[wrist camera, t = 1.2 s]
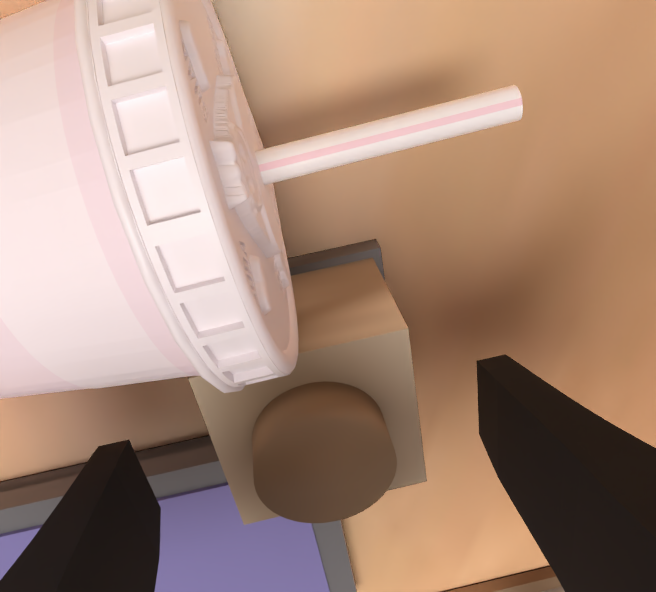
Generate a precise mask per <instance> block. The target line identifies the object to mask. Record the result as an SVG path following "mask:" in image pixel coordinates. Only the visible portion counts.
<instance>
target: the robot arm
mask: <svg viewBox="0 0 656 592" xmlns="http://www.w3.org/2000/svg"><path fill="white" fill-rule="evenodd" d="M477 382H478V412H479V434H480V437H481V439H482V442H483V444H484V446H485V449H486V451H487V453H488V456H489V458H490V460H491V462H492V465H493V467H494V469H495V471H496V473H497V476H498V478H499V480H500V481H501V483H502V485H503V487H504V488H505V490H506V492H507V493H508V495H509V497H510V499H511V500H512V502H513V504H514V505H515V507H516V509H517V511H518V512H519V514H520V516H521V517H522V519H523V521H524V522H525V524H526V526H527V527H528V529H529V531H530V532H531V534H532V536H533V537H534V539H535V541H536V543H537V544H538V546H539V548H540V549H541V551H542V553H543V554H544V556H545V558H546V559H547V561H548V563H549V564H550V566H551V568H552V569H553V571H554V573H555V575H556V576H557V578H558V580H559V582H560V584H561V586H562V587H563V589H564V591H565V592H656V448H654V447H653V446H651V445H649V444H647V443H645V442H643V441H641V440H639V439H638V438H636V437H634V436H632V435H631V434H629V433H627V432H625V431H623V430H622V429H620V428H618V427H616V426H615V425H613V424H611V423H609V422H608V421H606V420H604V419H603V418H601V417H599V416H598V415H596V414H594V413H593V412H591V411H590V410H588V409H586V408H585V407H583V406H582V405H580V404H579V403H577V402H575V401H574V400H572V399H571V398H569V397H568V396H566V395H565V394H563V393H562V392H560V391H559V390H557V389H556V388H554V387H553V386H551V385H550V384H548V383H547V382H545V381H544V380H542V379H541V378H539V377H538V376H536V375H535V374H533V373H532V372H530V371H529V370H528V369H526V368H525V367H523V366H522V365H520V364H519V363H517V362H516V361H514V360H513V359H511V358H510V357H508V356H507V355H501V356H497V357H492V358H488V359H483V360H479V361H477ZM160 524H161V507H160V505H159V503H158V501H157V499H156V497H155V495H154V492H153V490H152V488H151V486H150V484H149V482H148V480H147V477H146V475H145V473H144V471H143V469H142V467H141V465H140V462H139V460H138V458H137V456H136V454H135V452H134V450H133V447H132V445H131V443H130V441H129V440H125V441H121V442H116V443H112V444H107V445H103V446H99V447H98V448H97V449H96V451H95V452H94V453H93V455H92V456H91V458H90V459H89V460H88V462H87V463H86V465H85V466H84V468H83V469H82V470H81V472H80V473H79V475H78V476H77V478H76V479H75V480H74V482H73V483H72V485H71V486H70V488H69V489H68V490H67V492H66V493H65V495H64V496H63V498H62V499H61V500H60V502H59V503H58V505H57V506H56V508H55V509H54V510H53V512H52V513H51V514H50V516H49V517H48V519H47V520H46V521H45V523H44V524H43V525H42V527H41V528H40V530H39V531H38V532H37V534H36V535H35V537H34V538H33V539H32V541H31V542H30V543H29V544H28V546H27V547H26V548H25V550H24V551H23V552H22V553H21V555H20V556H19V557H18V558H17V560H16V561H15V562H14V564H13V565H12V566H11V567H10V569H9V570H8V571H7V573H6V574H5V575H4V576H3V578H2V579H1V580H0V592H155V585H156V578H157V572H158V564H159V556H160Z"/></svg>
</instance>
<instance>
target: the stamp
mask: <svg viewBox="0 0 656 592" xmlns="http://www.w3.org/2000/svg"><path fill="white" fill-rule="evenodd" d="M287 260H288V265H289V270H290V275H291V281H292V287H293V293H294V299H295V307H296V314H297V325H298V338H299V341H298V358H297V362H296V366H295V368H294V370H293V371H292V372H291V374H290V375H287V376H283V377H278V378H273V379H269V380H265V381H261V382H257V383H253V384H248V385H245V386H244V388H243V390H241V391H236V392H229V393H223V392H221V391H220V390H219V389H217V388H216V387H214V386H213V385H212V384H210V383H209V382H208V381H206V380H205V379H203V378H202V377H201V376H188V380H189V383H190V385H191V388H192V390H193V393H194V396H195V398H196V401H197V403H198V406H199V409H200V411H201V414H202V417H203V419H204V422H205V424H206V427H207V430H208V432H209V435H210V437H211V440H212V443H213V445H214V448H215V451H216V453H217V456H218V458H219V461H220V464H221V466H222V469H223V472H224V474H225V477H226V479H227V482H228V485H229V487H230V490H231V492H232V495H233V498H234V500H235V503H236V506H237V508H238V511H239V513H240V516H241V519H242V521H243V524H244V525H246V524H250V523H254V522H259V521H263V520H267V519H271V518H275V517H279V516H281V517H284V518H286V519H289V520H293V521H297V522H302V523H327V522H333V521H338V520H342V519H345V518H348V517H351V516H353V515H356V514H358V513H360V512H362V511H364V510H365V509H367V508H368V507H370V506H371V505H373V504H374V503H375V502H377V501H378V500H379V499H380V498H381V497H382V496H383V495H384V493H385V492H386V491H388V490H392V489H396V488H400V487H405V486H409V485H413V484H417V483H421V482H425V481H427V479H426V470H425V462H424V454H423V445H422V437H421V429H420V421H419V412H418V404H417V396H416V387H415V379H414V371H413V362H412V354H411V346H410V338H409V329H408V327H407V325H406V323H405V321H404V319H403V317H402V315H401V313H400V311H399V309H398V307H397V305H396V303H395V301H394V299H393V297H392V295H391V293H390V291H389V289H388V287H387V285H386V283H385V278H384V270H383V263H382V256H381V249H380V246H379V244H378V243H377V241H376V239H374V240H369V241H364V242H360V243H355V244H351V245H346V246H342V247H337V248H333V249H328V250H324V251H319V252H315V253H310V254H306V255H301V256H297V257H292V258H288V259H287Z"/></svg>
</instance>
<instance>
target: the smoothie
mask: <svg viewBox="0 0 656 592" xmlns="http://www.w3.org/2000/svg"><path fill="white" fill-rule="evenodd" d="M522 114H523V103H522V97H521V94H520V91H519V89H518V87H517V86H516V85H511V86H507V87H503V88H499V89H495V90H491V91H487V92H484V93H480V94H476V95H472V96H468V97H464V98H460V99H456V100H452V101H449V102H445V103H441V104H437V105H433V106H429V107H425V108H421V109H417V110H414V111H410V112H406V113H402V114H398V115H394V116H390V117H386V118H382V119H379V120H375V121H371V122H367V123H363V124H359V125H355V126H351V127H347V128H343V129H340V130H336V131H332V132H328V133H324V134H320V135H316V136H312V137H308V138H305V139H301V140H297V141H293V142H289V143H285V144H281V145H277V146H273V147H270V148H266V149H264V147H263V144H262V141H261V138H260V136H259V133H258V130H257V127H256V124H255V121H254V119H253V116H252V113H251V110H250V107H249V104H248V102H247V99H246V96H245V94H244V91H243V88H242V85H241V82H240V79H239V76H238V73H237V70H236V67H235V64H234V61H233V58H232V55H231V52H230V49H229V47H228V44H227V41H226V38H225V36H224V33H223V30H222V28H221V25H220V22H219V20H218V17H217V15H216V12H215V10H214V7H213V5H212V2H211V0H46V1H43V2H41V3H39V4H36V5H34V6H31V7H29V8H26V9H24V10H22V11H19V12H17V13H14V14H12V15H9V16H7V17H5V18H2V19H0V399H3V398H12V397H20V396H29V395H37V394H46V393H55V392H63V391H72V390H81V389H89V388H95V389H97V388H105V387H112V386H120V385H127V384H135V383H142V382H150V381H157V380H165V379H172V378H180V377H187V376H201V377H202V378H203V379H205V380H206V381H208V382H209V383H210V384H212V385H213V386H214V387H216V388H217V389H219V390H220V391H221V392H223V393H229V392H236V391H241V390H243V388H244V386H245V385H248V384H253V383H257V382H261V381H265V380H269V379H273V378H278V377H283V376H287V375H290V374H291V372H292V371H293V370H294V368H295V366H296V362H297V358H298V341H299V338H298V325H297V314H296V307H295V299H294V293H293V287H292V281H291V275H290V270H289V265H288V260H287V254H286V249H285V245H284V240H283V236H282V230H281V224H280V218H279V213H278V207H277V202H276V196H275V190H274V185H273V183H275V182H279V181H283V180H287V179H291V178H295V177H299V176H303V175H307V174H311V173H315V172H319V171H323V170H326V169H330V168H334V167H338V166H342V165H346V164H350V163H354V162H358V161H362V160H366V159H370V158H374V157H378V156H382V155H385V154H389V153H393V152H397V151H401V150H405V149H409V148H413V147H417V146H421V145H425V144H429V143H433V142H437V141H441V140H444V139H448V138H452V137H456V136H460V135H464V134H468V133H472V132H476V131H480V130H484V129H488V128H492V127H496V126H500V125H503V124H507V123H511V122H515V121H519V120H520V119H521V118H522Z"/></svg>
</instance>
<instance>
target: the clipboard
mask: <svg viewBox="0 0 656 592" xmlns="http://www.w3.org/2000/svg"><path fill="white" fill-rule="evenodd" d="M446 592H565V591H564V589H563V587H562V586H561V584H560V582H559V580H558V578H557V576H556V575H555V573H554V571H553V569H552V568H551V566H550V567H546V568H542V569H537V570H533V571H529V572H525V573H521V574H517V575H513V576H508V577H504V578H500V579H496V580H492V581H488V582H483V583H479V584H475V585H471V586H467V587H463V588H459V589H454V590H450V591H446Z"/></svg>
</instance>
